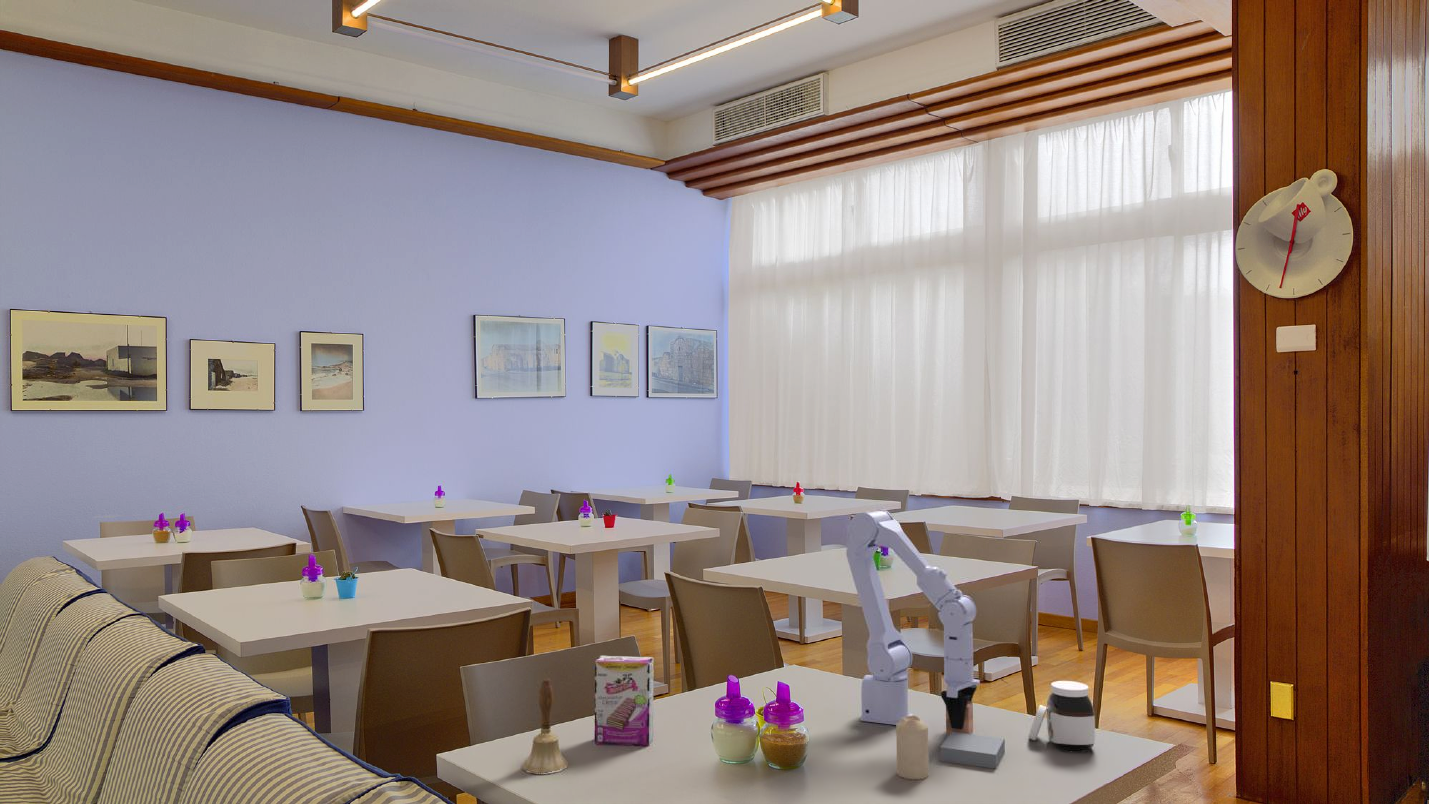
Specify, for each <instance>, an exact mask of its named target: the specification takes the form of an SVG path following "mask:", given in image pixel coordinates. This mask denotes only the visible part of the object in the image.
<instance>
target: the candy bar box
mask: <svg viewBox="0 0 1429 804" xmlns="http://www.w3.org/2000/svg"><path fill="white" fill-rule="evenodd" d="M654 663H655V661H654V657H652V656H651V657H650V656H626V655H625V656H623V655H599V657H598V658H597V659H596V660H595V662H594V744H595V745H612V744H622V745H621V746H645V747H646V746H650V744H651V742H652V741H653V739H654V672H655V671H654Z"/></svg>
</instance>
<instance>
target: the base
mask: <svg viewBox="0 0 1429 804" xmlns="http://www.w3.org/2000/svg"><path fill="white" fill-rule="evenodd" d="M1005 742H1006V741H1005V738H1003V737H995V736H987V735H979V734H973V733H972V734H966V733H958V732H951V733H950V734H949V735H947V736H946V738H945V740H944V741H943V743H942V744H941V746H940V748H939V749H940V750H939V751H940V753H939V754H940V761H941V762H945V761H947V763H954V764H960V765H968V766H975V767H982V768H987V769H988V768H989V769H998V766H999V764H1000V762H1001V761H1002V758H1003V756H1004V755H1005V752H1006V751H1005V750H1006V749H1005V747H1006V745H1005Z"/></svg>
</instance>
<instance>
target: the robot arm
mask: <svg viewBox="0 0 1429 804" xmlns="http://www.w3.org/2000/svg"><path fill="white" fill-rule="evenodd" d="M846 532H847V534H848V537H847V545H846V553H845V554H846V555H845V556H846V559H847V562H848V565H849V569H850V572H851V575H852V579H853V582H854V586H855V589H856V592H857V596H858V599H859V602H860V605H861V608H862V612H863V616H864V619H865V622H866V626H867V630H868V633H869V637H868V640H867V642H866V651H867V661H866V662H867V663H866V664H867V668H868V670H869V672H870V673H871V674H866V675H863V678H862V681H861V694H860V695H861V698H860V699H861V717H860V721H861V722H868V723H869V722H870V723H876V724H878V723H879V724H885V725H893V726H896V725H897V723H898V722H899V721H900V720H901V719H902V718H905V717H906V716H915V715H914V714H913V713H909V698H908V697H909V695H908V694H909V693H908V692H909V691H908V690H909V687H908V683H909V682H908V676H909V675H908V670H909V668H910V667H911V666H912V663H913V657H914V656H913V652H912V651H911V649H910V648H909V646H908V645H907V643H905V640H904V637H903V635H902V634H901V632H899V631H898V630H897V629H896V628H895V626H894V622H893V619H892V616H891V612H890V609H889V606H888V601H887V599H886V596H885V593H884V590H883V586H882V582H881V578H880V576H879V572H878V569H877V566H876V562H875V559H874V556H875V554H876V552H877V550H878V549H879V547H883V548H889V549H891V550H892V552H893V553H894V554H895V555H896V556H897V557H898V558H900V559H901V561H902V562H903V563H904V564H905V565H906V567H908V568H909V570H911V572H913V574H914V575H915V576H916V586H917V587H918V588H919V590H921V592H922V593H923V594H924V595H925V596H926V597H927V599H928V600H929V601H930V602H931V603H932V605H933V606H934V607H935V608H936V609H937V610H938V612H937V614H938V619H939V621H940V622H941V623H942V625H943V655H944V656H943V663H944V664H943V668H944V669H943V671H944V675H943V676H944V677H943V684H944V685H945V688H946V690H942V691H941V692H940V697H941V700H943V703H944V705H945V709H946V708H947V711H948V715H949V719H950V724H951V727H952V728H954V729H963V725H964V719H965V711H966V707H967V703H968V701H973V698H974V694H975V693H976V690H977V687H978V686H979V685H980V682H981V680H980V679H976V678H974V636H973V635H974V633H973V621H974V620H975V618H976V616H977V605H976V603H975V601H973V598H971V597H970V596H969V595H967V594H966V595H965V594H963V591H961V589H958V588H957V587H956V586H955V585H954V584H953V583H952V582H951V580H950V579H949V578H948V576H947V575H948V572H947V571H945V569H940V568H939V567H938V566H931V565H929V563H928V562H927V561H926V559H925V558H924V557H923V555H922V554H921V553H920V552H919V550H918V549H917V547H916V546H915V545H914V544H913V542H912V541H911V540H910V538H909V537H908V535H907V534H906V533H905V532H904V530H903V529H902V526H901V524H900V523H899V521H897V520H896V519H894V517H893V515H892V514H891V512H889V511H888V510H885V509H876V510H873V511H867V512H857V513H856V514H855V515H854V516H852V517H851V519H850V522H849V523H848V525H847V526H846Z"/></svg>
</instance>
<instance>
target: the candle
mask: <svg viewBox="0 0 1429 804" xmlns="http://www.w3.org/2000/svg"><path fill="white" fill-rule="evenodd" d="M895 727H896V729H895V730H896V731H895V732H896V733H895V734H896V735H895V737H896V773H897V775H898V776H899V777H901V778H903V779H907V780H915V779H917V780H923V779H926V778H928V777H929V726H928V725H927V724H926V723H925V722H924V721H923V720H922V719H921V718H919V717H918V716H917V715H914V716H906V717H905V718H902V719H901V720H900V721H899V722H898V723H897V725H895ZM927 776H928V777H927Z"/></svg>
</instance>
